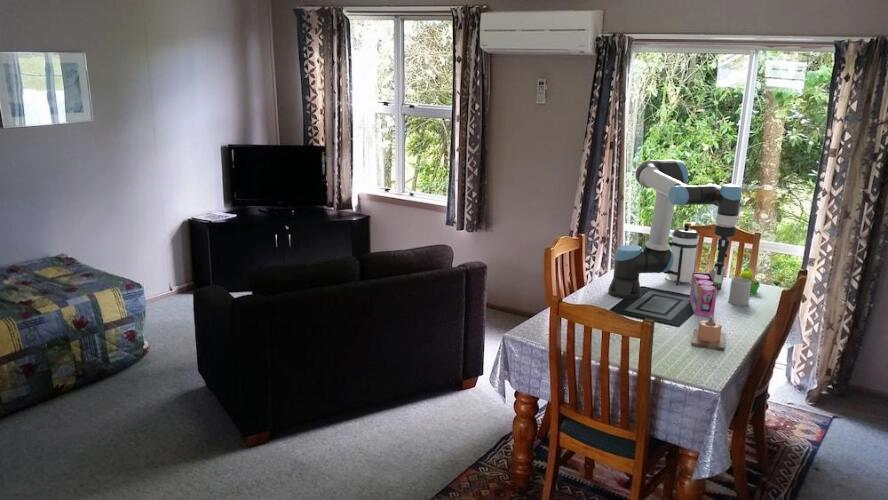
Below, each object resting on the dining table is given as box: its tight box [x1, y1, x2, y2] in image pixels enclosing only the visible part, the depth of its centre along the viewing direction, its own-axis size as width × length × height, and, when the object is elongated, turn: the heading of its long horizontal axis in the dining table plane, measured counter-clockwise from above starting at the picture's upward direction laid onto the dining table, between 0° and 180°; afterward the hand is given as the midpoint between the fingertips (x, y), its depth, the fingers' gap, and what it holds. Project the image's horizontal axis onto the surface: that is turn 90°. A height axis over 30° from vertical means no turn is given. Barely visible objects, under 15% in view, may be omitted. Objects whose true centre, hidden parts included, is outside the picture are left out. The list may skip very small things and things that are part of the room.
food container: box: [709, 266, 726, 291], centre depth 330 cm, size 12×6×10 cm, turn 148°
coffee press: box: [662, 223, 701, 287], centre depth 336 cm, size 17×16×30 cm
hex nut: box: [697, 319, 723, 342], centre depth 265 cm, size 7×8×6 cm
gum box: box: [689, 271, 718, 318], centre depth 301 cm, size 24×8×14 cm, turn 167°
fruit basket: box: [740, 267, 761, 295], centre depth 327 cm, size 11×9×11 cm
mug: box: [728, 277, 751, 307], centre depth 311 cm, size 12×8×11 cm
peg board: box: [690, 316, 726, 352], centre depth 265 cm, size 12×16×10 cm
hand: (718, 277), depth 265 cm, fingers open, 13 cm apart
